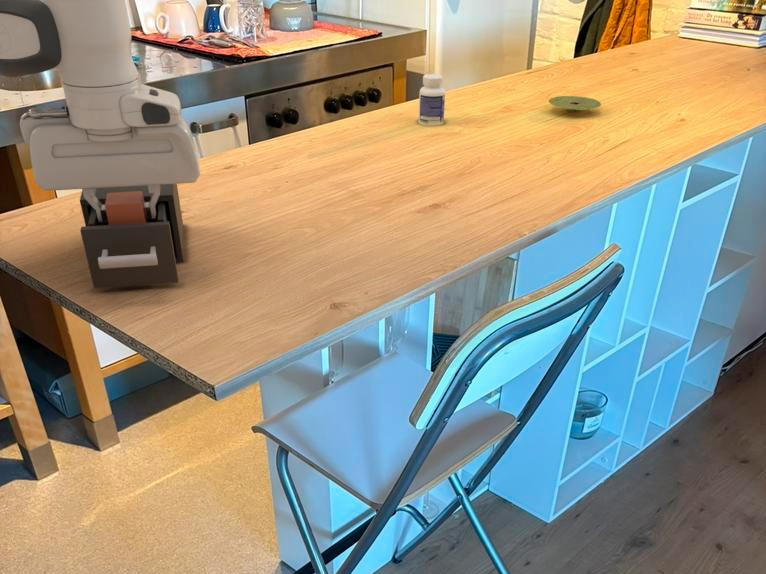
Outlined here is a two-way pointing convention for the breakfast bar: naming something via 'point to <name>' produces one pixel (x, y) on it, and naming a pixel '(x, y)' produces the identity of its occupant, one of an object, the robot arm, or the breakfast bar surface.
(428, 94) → the pill bottle
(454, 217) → the breakfast bar surface
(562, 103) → the grey green disc
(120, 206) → the block
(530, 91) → the breakfast bar surface
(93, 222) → the drawer
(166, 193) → the cabinet
